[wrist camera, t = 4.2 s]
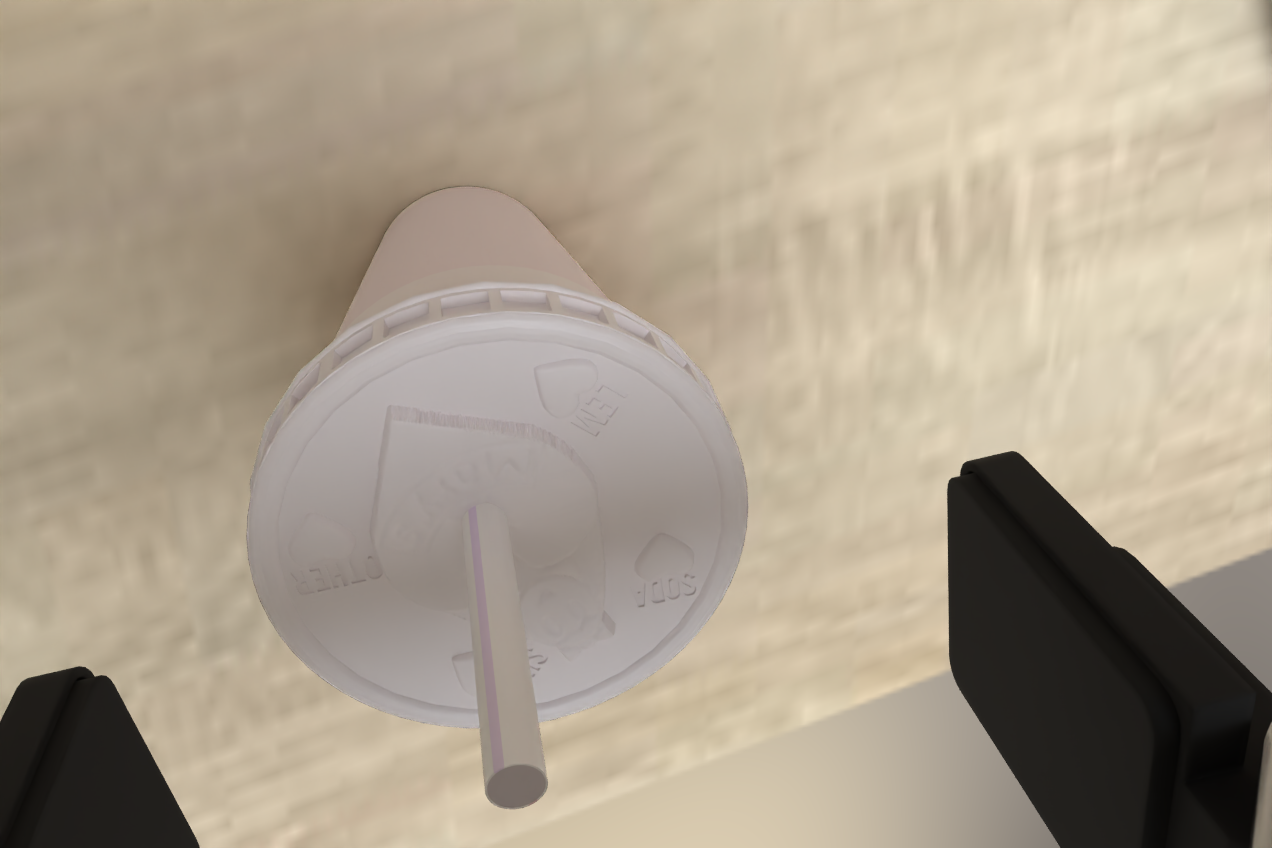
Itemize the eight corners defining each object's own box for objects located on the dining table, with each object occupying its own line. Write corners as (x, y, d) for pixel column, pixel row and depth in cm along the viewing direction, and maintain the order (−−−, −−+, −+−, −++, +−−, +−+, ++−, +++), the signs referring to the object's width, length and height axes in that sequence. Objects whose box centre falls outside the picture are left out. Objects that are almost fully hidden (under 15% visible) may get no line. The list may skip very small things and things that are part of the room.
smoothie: (510, 48, 20) (680, 372, 8) (677, 310, 23) (982, 830, 11) (233, 237, 20) (-12, 806, 8) (433, 465, 24) (465, 1117, 12)
